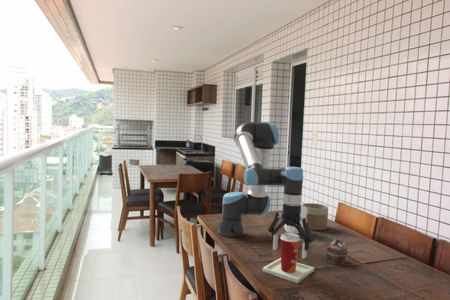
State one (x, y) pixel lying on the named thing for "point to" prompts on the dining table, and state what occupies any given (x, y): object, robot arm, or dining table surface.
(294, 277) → the tray
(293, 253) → the coffee cup
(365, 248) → the dining table surface
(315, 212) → the planter
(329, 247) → the cupcake
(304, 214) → the vase
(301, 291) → the dining table surface
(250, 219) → the dining table surface
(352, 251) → the dining table surface
